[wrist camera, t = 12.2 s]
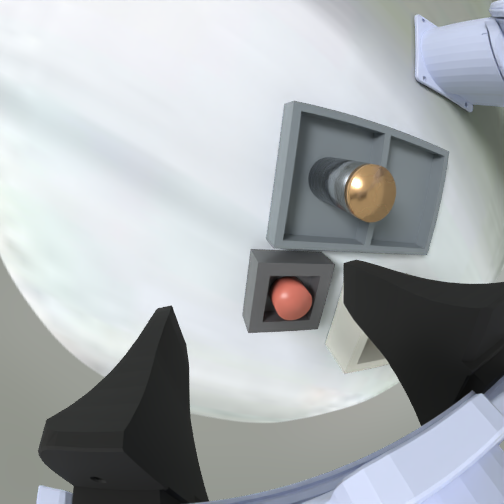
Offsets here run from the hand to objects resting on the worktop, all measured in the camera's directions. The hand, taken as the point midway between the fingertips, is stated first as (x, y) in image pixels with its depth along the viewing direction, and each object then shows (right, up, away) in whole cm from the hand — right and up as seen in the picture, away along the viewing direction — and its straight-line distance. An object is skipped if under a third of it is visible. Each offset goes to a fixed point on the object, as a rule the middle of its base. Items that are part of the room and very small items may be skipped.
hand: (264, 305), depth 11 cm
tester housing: (+2, -1, +12) cm, 13 cm away
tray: (+9, +8, +11) cm, 16 cm away
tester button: (+2, -1, +11) cm, 12 cm away
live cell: (+5, +8, +9) cm, 13 cm away
